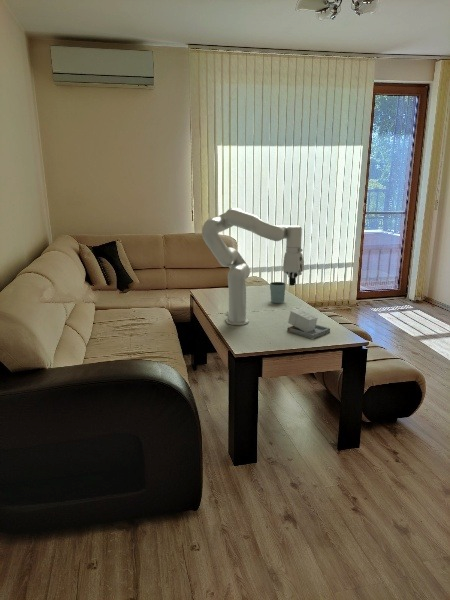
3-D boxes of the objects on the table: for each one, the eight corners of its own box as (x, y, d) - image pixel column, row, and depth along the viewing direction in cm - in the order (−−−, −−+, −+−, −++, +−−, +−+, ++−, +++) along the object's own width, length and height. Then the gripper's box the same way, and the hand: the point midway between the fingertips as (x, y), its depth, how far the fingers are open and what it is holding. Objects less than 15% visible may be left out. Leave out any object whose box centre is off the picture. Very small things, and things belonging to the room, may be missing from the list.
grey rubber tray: (290, 332, 224) (290, 328, 223) (307, 325, 234) (307, 322, 233) (312, 339, 214) (313, 335, 213) (330, 331, 224) (330, 328, 223)
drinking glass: (281, 304, 275) (281, 285, 272) (266, 302, 281) (267, 284, 277) (287, 300, 284) (288, 282, 281) (273, 298, 289) (273, 281, 286)
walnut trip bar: (287, 331, 225) (287, 327, 225) (304, 324, 235) (304, 321, 235) (290, 332, 224) (290, 328, 223) (307, 325, 234) (307, 322, 233)
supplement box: (296, 320, 234) (314, 330, 226) (287, 322, 229) (306, 333, 221) (299, 307, 231) (318, 317, 223) (290, 310, 226) (309, 320, 218)
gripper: (309, 250, 219) (308, 286, 224) (286, 247, 230) (285, 281, 234) (300, 252, 214) (299, 288, 219) (277, 249, 225) (276, 283, 229)
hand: (292, 284), depth 227 cm, fingers closed
